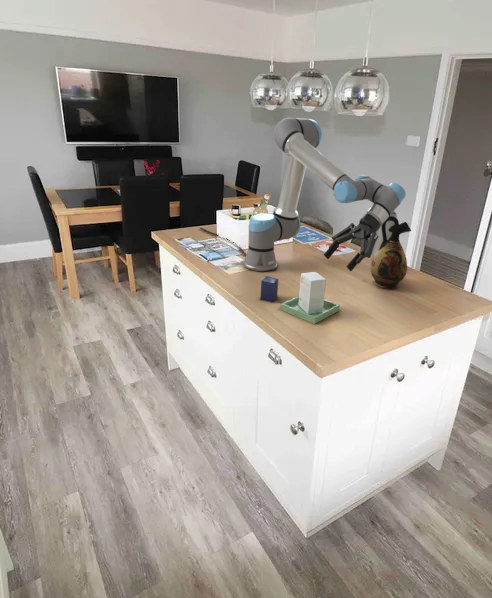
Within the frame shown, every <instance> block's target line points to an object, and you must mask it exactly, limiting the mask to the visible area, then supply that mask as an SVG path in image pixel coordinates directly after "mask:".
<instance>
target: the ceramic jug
mask: <svg viewBox="0 0 492 598" xmlns="http://www.w3.org/2000/svg"><path fill="white" fill-rule="evenodd" d="M387 221H393V222H394V225H393V226H391V227H390V228H389V232H391V233H392V234H391V236H390V238H389V239H388V240H387V235H386V222H387ZM410 232H412V229H411V227H410V226H409V223H407V221H403V222H401V223H400V222H399V219H398V217H397V218H396V217H394V216H389V217H388V218H387V220H386V221H385V222H384V223H383V224H382V236H383V242H382V244H381V245H380V248H379V250H378V251H377V253H376V254H375V256H374V258H373V260H372V259H371V262H370V266H369V267H370V268H369V269H370V274H371V277H372V278H373V279H374V285H376V286H377V287H378V288H382V289H385V290H394V289H397V285H398V284H400V283H401V282H402V281H404V279H405V277H406V275H407V271H408V260H407V255H406V253H405V250H404V248H403V246H402V243H401V241H400V235H401V234H404V233H410Z"/></svg>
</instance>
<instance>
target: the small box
mask: <svg viewBox="0 0 492 598" xmlns="http://www.w3.org/2000/svg"><path fill="white" fill-rule="evenodd" d="M326 284H327V279H326V278H325V277H323V276H322V275H320V273H318V272H316V271H312V272H311V271H310V272H301V273H300V279H299V293H298V296H299V303H298V306H300V307H301V308H302V309H303V310H304V311H305V312H306V313H307V314H313V313H319V312H323V305H324V299H325V295H326V294H325V293H326V286H327V285H326Z"/></svg>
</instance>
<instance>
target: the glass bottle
mask: <svg viewBox="0 0 492 598" xmlns="http://www.w3.org/2000/svg"><path fill="white" fill-rule="evenodd" d="M390 216H394V217H396V218H397V219H398V215H397V212H396V211H395V210H394V211H393V212H392V214H391V215H390ZM393 225H394V222H393V221H387V222H386V235H387V240H388V239H389V238H390V236H391V234H392V233H391V232H389V228H390V227H391V226H393ZM376 233H377V235H378V236H379V237H378V239H377V240H376V242H375V245H374V248H373V251H372V254H371V261H372V260H373V258H374V256H375V254H376V253H377V251H378V250H379V248H380V245H381V244H382V242H383V236H382V225H381V227H380V228H379V229H378V230H377V232H376Z"/></svg>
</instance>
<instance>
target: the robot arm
mask: <svg viewBox="0 0 492 598" xmlns="http://www.w3.org/2000/svg"><path fill="white" fill-rule="evenodd" d="M322 131H323V130H322V128H321V126H320V125H319V123H318V122H317V121H316V120H314V119H311V118H308V117H307V118H306V117H303V118H302V117H285V118H283V119H281V120H279V121H278V123H277V124H276V125H275V128H274V131H273V137H274V141H275V143H276V145H277V146H278V148H279V149H280V150H281V151H282V152H283V153H284V154H286V155H287V159H286V165H285V170H284V174H283V180H282V185H281V189H280V193H279V194H280V195H279V198H278V202H277V203H278V204H277V206H276V207H274V208H273V211H272V213H267V212H264V213H258V214H253V215H252V216H251V217H250V218H249V221H248V249H247V252H245V251H244V250H243V249H242V247H241V246H240V247H241V248H240V247H238V249H239V251H240V252H241V253H242V254H243V255H244V257H245V258H244V259H243V266H244V268H246V269H248V270H250V271H253V272H271V271H275V270H276V269H277V267H278V260H277V259H276V253H275V242H276V243H277V242H280V241H284V240H290V239H292V238H294V237H296V236H297V235H298V234H299V232H300V230H301V224H302V223H301V221H300V217H299V212H298V211H297V207H298V203H299V199H300V195H301V192H302V191H301V190H302V186H303V182H304V177H305V173H306V169H307V170H308V171H310V173H312V174H313V175H314V176H315V177H317V178H318V179H319V180H320V181H321V182H322V183H323V184H324V185H326V186H327V187H328V188H329V189H330V190H332V193H333V196H334V199H335V201H336V202H338V203H341V204H350V203H354V202H359V201H365V200H367V201H369V202H371V203H373V204H372V205H371V206H370V208H368V210H366V213H364V214H363V215H362V217H361V218H360V219H359V222H358V224H357V225H355V224H354V222H351V223H350V224H349V225H348V226H347V227H345V228H344V229H342V230H341V231H339V232H337V233H336V234H334V235H333V236H332V237H331V240H332V241H333V242H332V243H331V244H330V245H329V246H328V248H327V250H326V251H325V252H324V253H323V256H324V257H325V259H327V260H329V259H330V258H331V257H332V256H333V254H334V253H335V252H336V251H337V250H338V249H339V248H340V245H341V244H345V243H346V242H349V241H351V240H358V241H360V251H359V252H357V253H356V254H355V255H354V257H353V258H352V259H351V260H350V261H349V262H348V264H347V265H346V268H347V269H348V271H349V272H352V271H353V270H354V269H355V268H356V267H357V265H359V264H360V263H362V261H363V260H364V259H365V258H367V259H370V258H372V251H373V248H374V245H375V242H376V240H377V239H378V237H379V236H378V235H377V233H376V232H377V230H378V229H379V228H380V227H381V225H382V224H383V223H384V222H385V221H386V220H387V218H388V217H389V216H390V215H391V214H392V212H393V211H395V210H396V209H397V208H398V207H399V206H400V205H401V203H402V202H403V201H404V199H405V198H406V195H407V194H406V190H405V189H404V187H403V186H402V185H401V184H400V183H397V182H391V183H390V184H389V185H385V184H383V183H381V182H380V181H377V180H375V179H374V178H372V177H371V176H369V175H366V174H360V175H358V176H356V178H355V179H353V178H351V177H350V176H349V175H348V174H347V173H345V172H344V171H343V170H342V169H340V168H339V167H338V166H337V165H335V164H334V163H333V162H332V161H331V160H330V159H328V157H326V156H325V155H324V154H323V153H321V151H319V150H318V149H317V148H318V147H319V146H320V145H321V143H322V140H323V132H322ZM199 229H200V230H201V231H204V232H206V233H208V234H211V235H212V236H216V237H218V236H217V234H218V233H215V232H212V231H209V230H207V229H205V228H203V227H199Z"/></svg>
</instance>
